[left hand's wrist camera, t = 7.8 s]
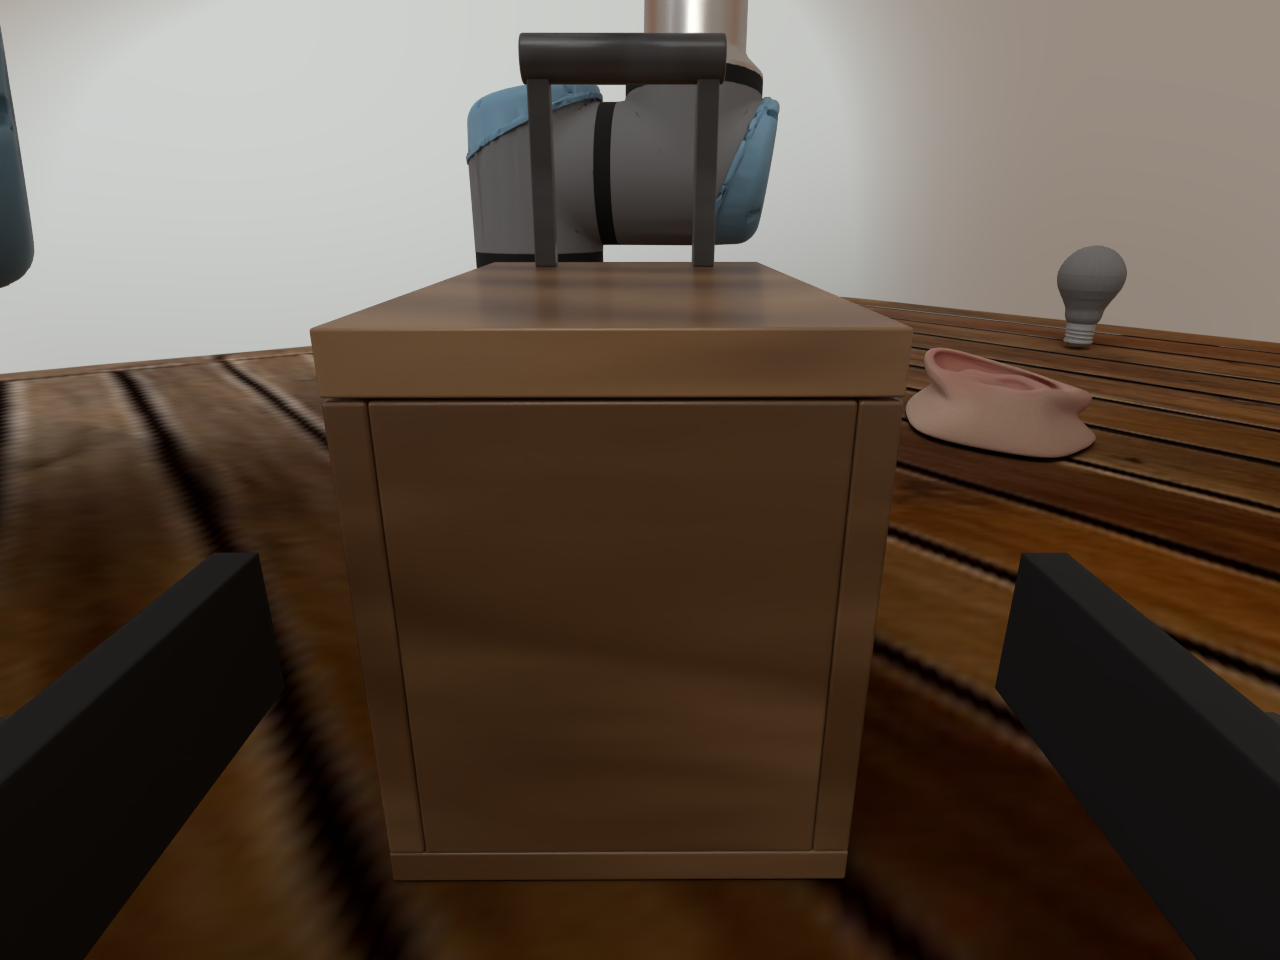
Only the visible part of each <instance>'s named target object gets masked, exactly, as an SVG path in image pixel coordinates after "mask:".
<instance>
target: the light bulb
mask: <svg viewBox="0 0 1280 960" xmlns="http://www.w3.org/2000/svg"><path fill="white" fill-rule="evenodd" d="M1126 276H1127V270H1126V266H1125V263H1124V261H1123V259H1122V258H1121V256H1120V255H1119V254H1118V253H1117V252H1116V251H1114V250H1112V249H1110V248H1108V247H1104V246H1090V247H1085V248H1082V249H1080V250H1078V251H1076V252H1074V253H1073V254H1072V255H1071V256H1069V257H1068V258H1067V259H1066V260H1065V261H1064V263H1063V264H1062V266H1061V267H1060V269H1059V272H1058V276H1057V285H1058V289H1059V291H1060V294H1061V297H1062V299H1063V302H1064V304H1065V318H1066V320H1067V325H1066V328H1068V329H1066V331H1067V333H1065V335H1066V337H1064V341H1065V342H1066V343H1068V344H1070V346H1074V347H1084V346H1086V345H1088V344H1091V343H1093V341H1092V340H1091V339H1093V337H1092V335H1094V334H1093V331H1095V328H1096V325H1097V323H1098V322H1099V321H1100V319H1101V317H1102V315H1103V311H1104V310H1105V308H1106V307H1107V306H1108V304H1109V303H1110V302H1111V301H1112V300H1113V299H1114V298H1115V296H1116V295H1117V294H1118V293H1119V291H1120V290H1121V289H1122V287H1123V285H1124V283H1125V280H1126Z"/></svg>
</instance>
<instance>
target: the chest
mask: <svg viewBox="0 0 1280 960" xmlns="http://www.w3.org/2000/svg"><path fill="white" fill-rule="evenodd" d="M903 405H904V404H903V401H902V400H900V399H899V398H897V397H742V398H329V399H328V400H326V401H324V402H323V404H322V410H323V416H324V423H325V429H326V436H327V443H328V449H329V456H330V462H331V469H332V475H333V482H334V488H335V495H336V501H337V508H338V514H339V521H340V528H341V534H342V541H343V547H344V554H345V560H346V567H347V573H348V580H349V586H350V593H351V600H352V606H353V613H354V619H355V626H356V632H357V639H358V645H359V652H360V658H361V665H362V671H363V678H364V685H365V691H366V698H367V704H368V711H369V717H370V724H371V730H372V737H373V743H374V750H375V756H376V763H377V770H378V776H379V783H380V789H381V796H382V802H383V809H384V815H385V822H386V828H387V835H388V841H389V848H390V851H391V853H390V859H391V865H392V872H393V878H394V880H606V879H815V878H844V877H845V871H846V863H847V855H848V851H847V849H848V844H849V836H850V828H851V820H852V812H853V804H854V796H855V788H856V780H857V772H858V764H859V756H860V748H861V740H862V732H863V724H864V716H865V708H866V700H867V692H868V684H869V676H870V668H871V660H872V652H873V644H874V636H875V628H876V620H877V613H878V605H879V597H880V589H881V581H882V573H883V565H884V557H885V549H886V541H887V533H888V525H889V517H890V509H891V501H892V493H893V485H894V477H895V469H896V461H897V453H898V445H899V437H900V429H901V421H902V413H903Z"/></svg>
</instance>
